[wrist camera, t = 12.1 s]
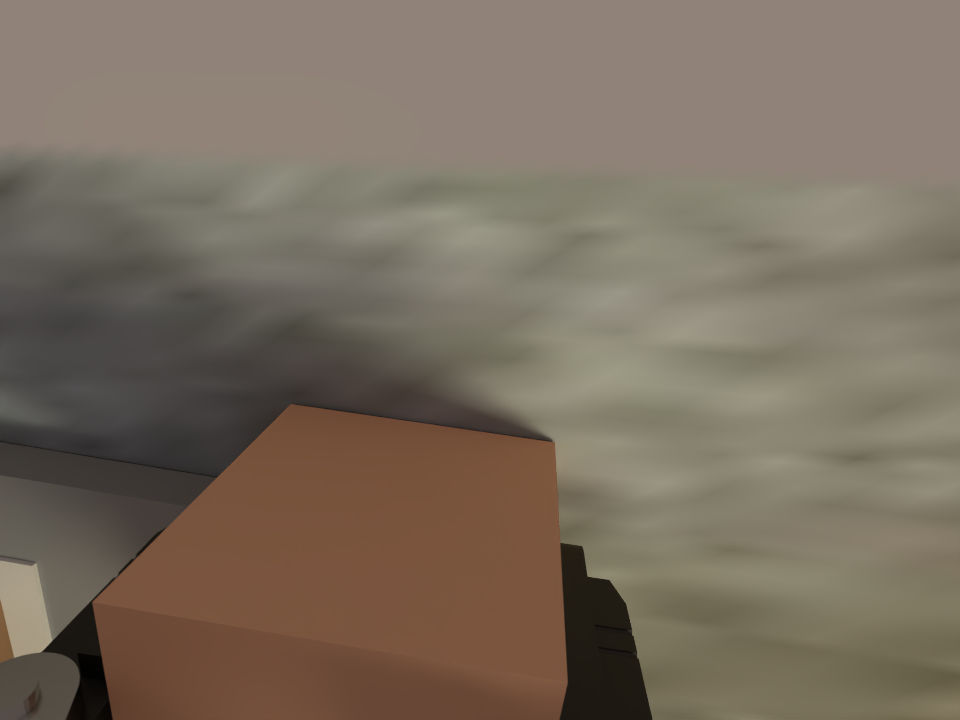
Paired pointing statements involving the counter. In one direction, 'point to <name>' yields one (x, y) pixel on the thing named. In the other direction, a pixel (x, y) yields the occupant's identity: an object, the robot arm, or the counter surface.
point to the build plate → (74, 532)
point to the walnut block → (4, 639)
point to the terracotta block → (350, 582)
